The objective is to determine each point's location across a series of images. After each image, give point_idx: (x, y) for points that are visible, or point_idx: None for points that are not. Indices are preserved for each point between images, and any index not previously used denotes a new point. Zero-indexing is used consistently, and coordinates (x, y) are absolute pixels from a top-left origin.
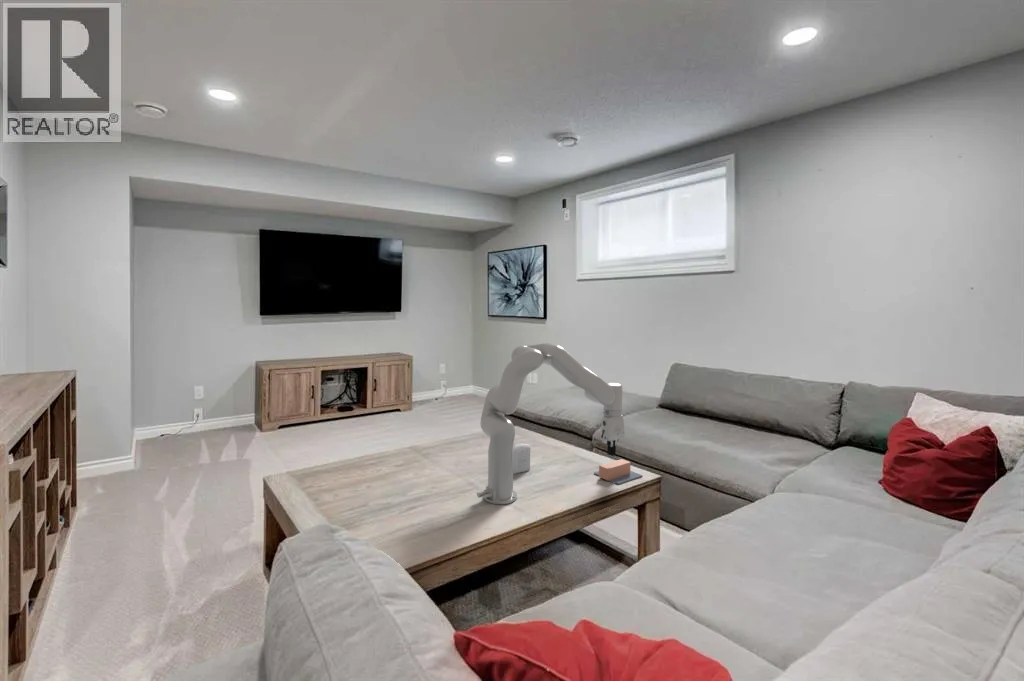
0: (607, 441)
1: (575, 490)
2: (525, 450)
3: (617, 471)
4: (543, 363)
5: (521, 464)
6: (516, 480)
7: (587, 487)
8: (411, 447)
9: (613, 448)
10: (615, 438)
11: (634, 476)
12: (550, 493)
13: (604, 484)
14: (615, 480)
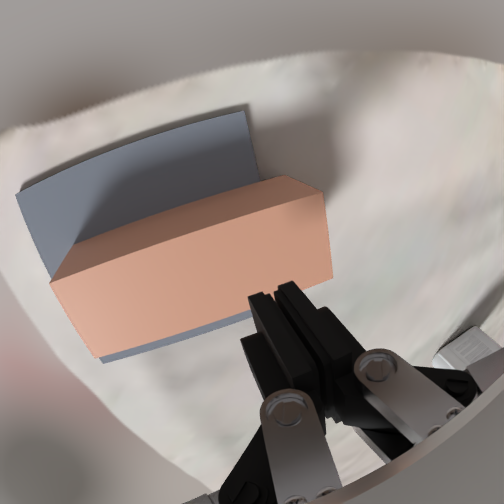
0: (472, 396)
1: (447, 150)
2: None
3: (198, 213)
4: None
5: (474, 348)
6: (490, 286)
7: (403, 153)
8: None
9: (333, 337)
10: (481, 448)
11: (69, 188)
12: (494, 170)
13: (317, 148)
14: (235, 157)
